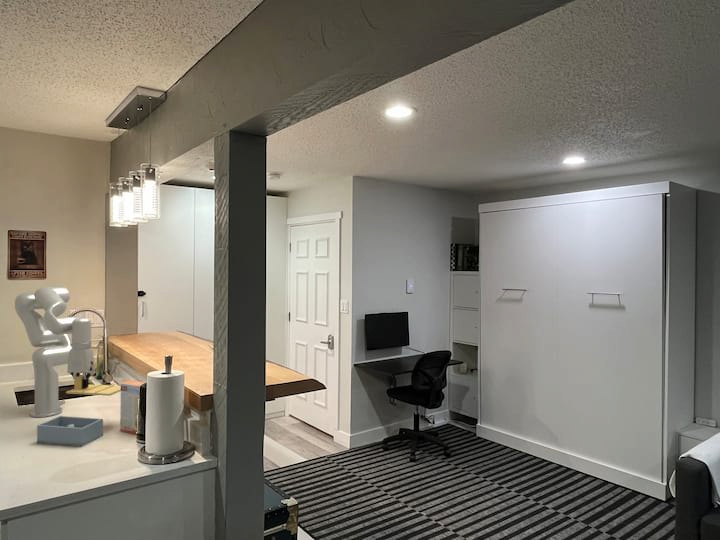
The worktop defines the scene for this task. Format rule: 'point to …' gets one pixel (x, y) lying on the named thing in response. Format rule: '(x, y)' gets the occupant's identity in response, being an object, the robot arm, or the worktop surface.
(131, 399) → the cracker box
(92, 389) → the lid
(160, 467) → the worktop surface
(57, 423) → the tub
